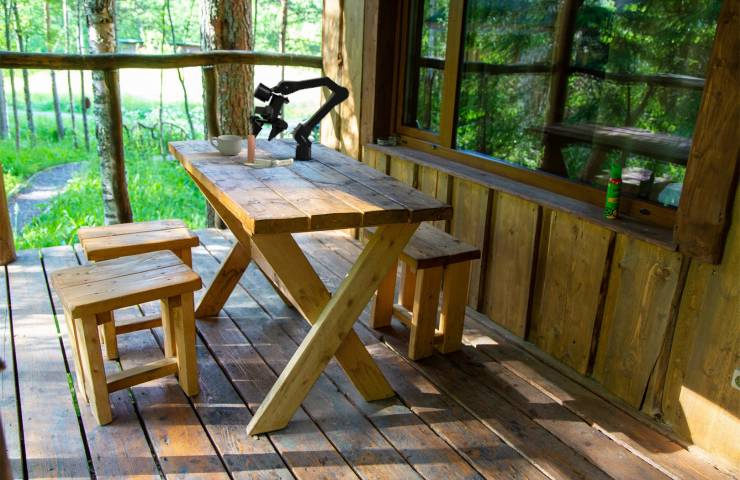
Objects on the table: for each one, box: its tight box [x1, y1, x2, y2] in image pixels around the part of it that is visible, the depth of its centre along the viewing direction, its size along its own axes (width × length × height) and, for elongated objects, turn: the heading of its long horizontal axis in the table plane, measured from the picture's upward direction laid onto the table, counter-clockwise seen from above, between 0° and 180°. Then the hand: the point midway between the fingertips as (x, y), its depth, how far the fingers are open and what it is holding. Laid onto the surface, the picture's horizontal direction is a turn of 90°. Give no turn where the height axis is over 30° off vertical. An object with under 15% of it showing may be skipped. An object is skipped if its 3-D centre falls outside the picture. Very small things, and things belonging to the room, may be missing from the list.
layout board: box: [234, 157, 291, 170], centre depth 255 cm, size 19×17×1 cm
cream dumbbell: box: [274, 158, 294, 168], centre depth 253 cm, size 9×2×2 cm, turn 135°
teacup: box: [209, 134, 243, 156], centre depth 268 cm, size 14×11×8 cm
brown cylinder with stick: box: [247, 134, 275, 165], centre depth 249 cm, size 12×3×11 cm, turn 72°
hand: (260, 140), depth 254 cm, fingers open, 9 cm apart
